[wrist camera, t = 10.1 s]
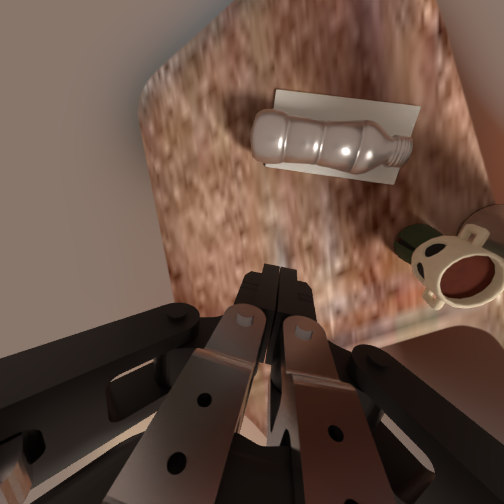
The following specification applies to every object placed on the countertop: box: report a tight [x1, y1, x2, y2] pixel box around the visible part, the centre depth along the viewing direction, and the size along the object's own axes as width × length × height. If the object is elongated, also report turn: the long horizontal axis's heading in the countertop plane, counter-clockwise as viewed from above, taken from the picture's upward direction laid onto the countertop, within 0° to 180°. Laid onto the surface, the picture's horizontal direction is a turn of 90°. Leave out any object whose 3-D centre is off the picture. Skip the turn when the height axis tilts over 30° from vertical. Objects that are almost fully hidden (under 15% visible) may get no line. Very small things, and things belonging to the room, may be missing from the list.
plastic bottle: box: [250, 108, 413, 175], centre depth 32 cm, size 6×7×20 cm
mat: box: [265, 89, 421, 185], centre depth 34 cm, size 19×10×1 cm, turn 83°
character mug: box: [394, 224, 504, 310], centre depth 32 cm, size 11×7×13 cm, turn 167°
